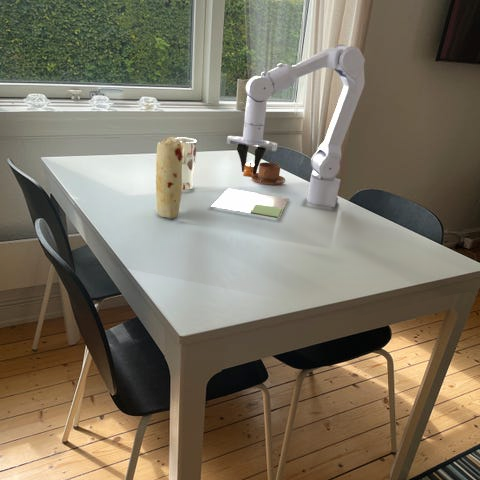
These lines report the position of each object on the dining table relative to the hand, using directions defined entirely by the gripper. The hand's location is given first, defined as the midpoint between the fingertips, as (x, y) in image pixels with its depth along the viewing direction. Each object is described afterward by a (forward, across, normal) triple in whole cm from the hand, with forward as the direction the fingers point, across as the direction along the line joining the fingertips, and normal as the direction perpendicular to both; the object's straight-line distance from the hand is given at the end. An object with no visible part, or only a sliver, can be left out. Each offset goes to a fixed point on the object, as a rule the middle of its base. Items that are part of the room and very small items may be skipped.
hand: (249, 172), depth 144 cm
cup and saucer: (+9, +2, +24) cm, 26 cm away
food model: (+9, -16, -23) cm, 30 cm away
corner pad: (+8, +8, -8) cm, 14 cm away
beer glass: (+9, -21, +1) cm, 23 cm away
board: (+9, +2, -3) cm, 10 cm away
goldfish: (+1, 0, 0) cm, 1 cm away
